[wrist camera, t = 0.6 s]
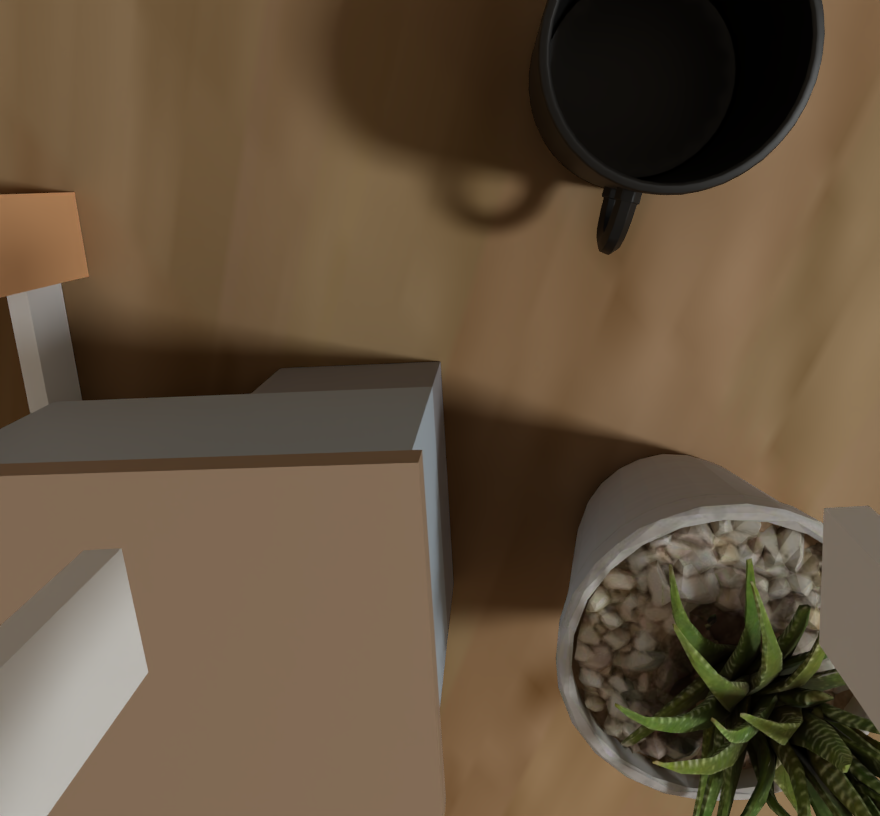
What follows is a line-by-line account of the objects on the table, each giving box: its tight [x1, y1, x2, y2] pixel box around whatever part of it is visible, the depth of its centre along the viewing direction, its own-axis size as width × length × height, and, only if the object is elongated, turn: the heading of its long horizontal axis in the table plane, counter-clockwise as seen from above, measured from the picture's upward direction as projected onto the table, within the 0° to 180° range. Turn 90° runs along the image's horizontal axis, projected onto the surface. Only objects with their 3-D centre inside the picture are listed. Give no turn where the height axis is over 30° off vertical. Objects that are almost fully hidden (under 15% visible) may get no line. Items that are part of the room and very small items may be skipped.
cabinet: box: [0, 362, 454, 816], centre depth 34 cm, size 14×18×16 cm
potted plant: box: [556, 454, 880, 816], centre depth 32 cm, size 13×14×20 cm
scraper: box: [0, 192, 89, 414], centre depth 36 cm, size 16×4×10 cm, turn 3°
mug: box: [529, 0, 825, 255], centre depth 32 cm, size 9×12×9 cm
